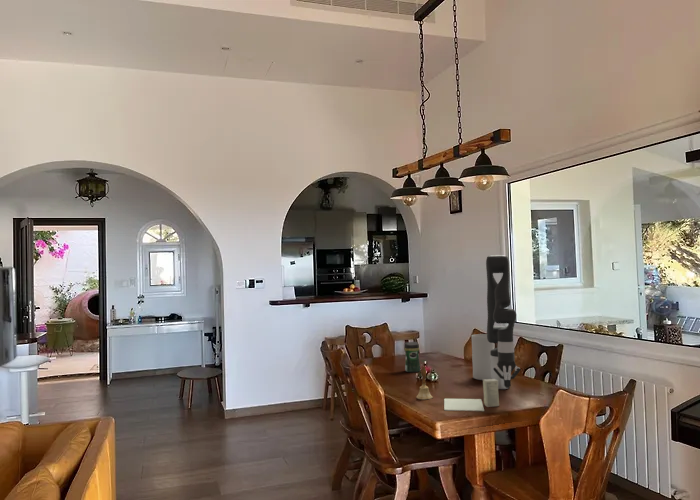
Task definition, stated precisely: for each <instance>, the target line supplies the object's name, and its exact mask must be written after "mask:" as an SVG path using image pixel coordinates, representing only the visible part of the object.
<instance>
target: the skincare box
mask: <svg viewBox="0 0 700 500" xmlns="http://www.w3.org/2000/svg"><path fill="white" fill-rule="evenodd" d="M482 389H483V406H485V407H487V408H489V407H490V408H491V407H492V408H493V407H499V406H500V401H499V397H500V396H499V389H498V380H496V379H483V380H482Z"/></svg>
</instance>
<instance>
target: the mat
mask: <svg viewBox="0 0 700 500" xmlns="http://www.w3.org/2000/svg"><path fill="white" fill-rule="evenodd" d="M482 400H483V399H481V398H444V399H443V405H444V406H443V407H444V408H443V409H444V411H453V412H454V411H456V412H457V411H458V412H459V411H460V412H465V411H467V412H485V409H484V403H483V401H482Z"/></svg>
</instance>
